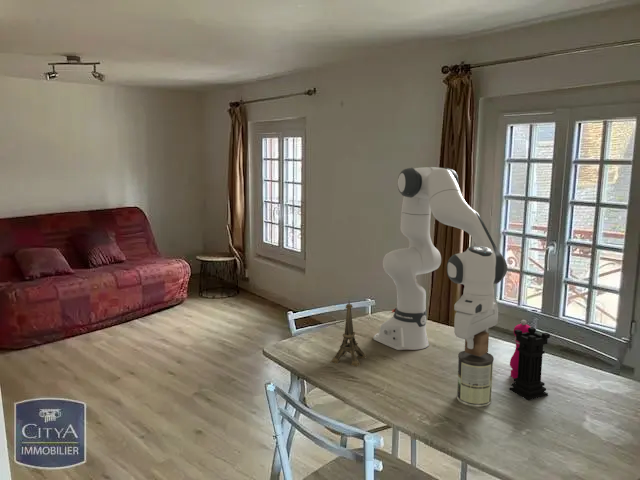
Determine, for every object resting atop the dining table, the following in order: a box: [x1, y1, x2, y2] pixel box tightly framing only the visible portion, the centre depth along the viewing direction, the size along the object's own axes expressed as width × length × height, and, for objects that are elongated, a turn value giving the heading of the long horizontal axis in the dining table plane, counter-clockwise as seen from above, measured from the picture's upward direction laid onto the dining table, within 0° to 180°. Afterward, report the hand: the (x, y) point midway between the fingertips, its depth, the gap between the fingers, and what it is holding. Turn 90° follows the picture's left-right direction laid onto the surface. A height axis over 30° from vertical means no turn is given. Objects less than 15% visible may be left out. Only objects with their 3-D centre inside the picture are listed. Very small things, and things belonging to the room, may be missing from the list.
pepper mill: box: [509, 319, 531, 380], centre depth 175 cm, size 7×7×20 cm
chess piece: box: [508, 326, 551, 401], centre depth 163 cm, size 8×8×20 cm
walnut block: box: [464, 332, 490, 356], centre depth 157 cm, size 5×5×6 cm
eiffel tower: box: [330, 301, 368, 367], centre depth 190 cm, size 11×11×25 cm
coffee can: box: [456, 350, 495, 408], centre depth 159 cm, size 10×10×14 cm
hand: (476, 345), depth 158 cm, fingers closed on walnut block, 5 cm apart
